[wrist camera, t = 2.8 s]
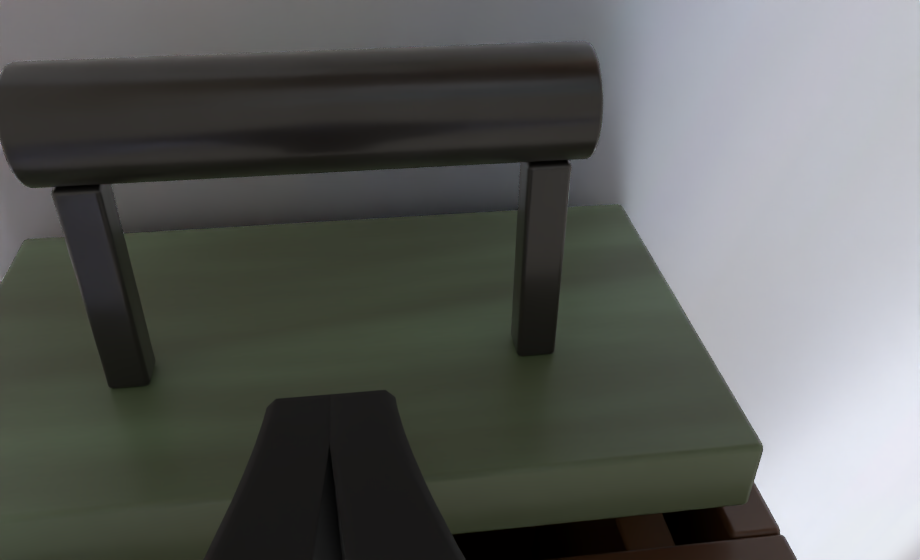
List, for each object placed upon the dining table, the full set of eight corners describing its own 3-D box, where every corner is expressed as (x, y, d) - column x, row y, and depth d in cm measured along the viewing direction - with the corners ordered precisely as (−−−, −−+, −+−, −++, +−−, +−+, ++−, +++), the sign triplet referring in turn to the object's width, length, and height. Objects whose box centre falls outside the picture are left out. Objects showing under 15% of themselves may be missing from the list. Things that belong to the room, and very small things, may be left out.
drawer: (-64, -28, 13) (-349, 177, 7) (654, -46, 14) (864, 118, 9) (161, 657, 23) (111, 958, 18) (567, 610, 25) (639, 877, 19)
